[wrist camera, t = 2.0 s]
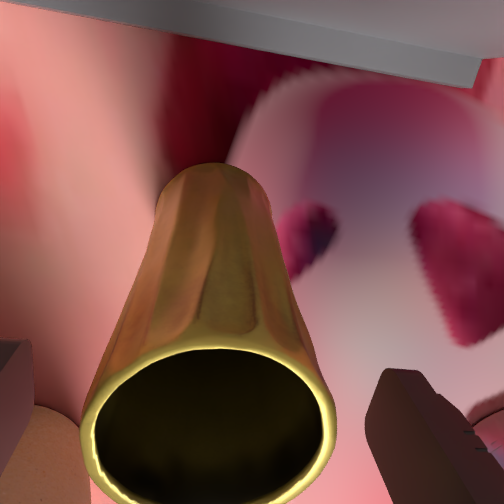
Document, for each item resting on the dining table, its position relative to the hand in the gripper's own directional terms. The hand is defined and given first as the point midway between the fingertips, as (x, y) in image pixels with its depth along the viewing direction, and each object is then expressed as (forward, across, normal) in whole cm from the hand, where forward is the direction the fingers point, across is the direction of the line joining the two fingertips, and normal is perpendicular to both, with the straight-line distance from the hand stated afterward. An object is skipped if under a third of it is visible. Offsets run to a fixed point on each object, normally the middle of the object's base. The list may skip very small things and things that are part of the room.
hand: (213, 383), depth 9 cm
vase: (+13, 0, 0) cm, 13 cm away
